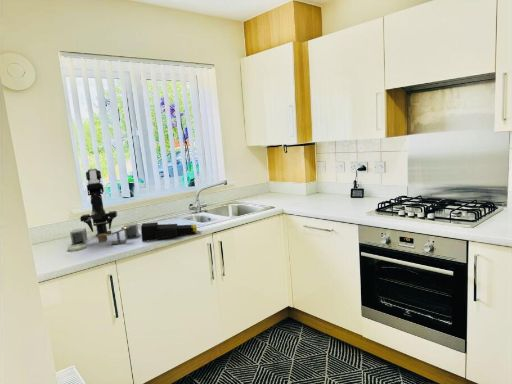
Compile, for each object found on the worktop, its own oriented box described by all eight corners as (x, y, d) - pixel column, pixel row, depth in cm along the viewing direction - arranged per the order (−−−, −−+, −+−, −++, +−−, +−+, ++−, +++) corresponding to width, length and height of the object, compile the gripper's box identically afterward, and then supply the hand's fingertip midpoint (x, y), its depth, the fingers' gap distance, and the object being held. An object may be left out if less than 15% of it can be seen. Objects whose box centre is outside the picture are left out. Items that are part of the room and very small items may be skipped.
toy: (196, 225, 201) (140, 227, 196) (196, 240, 202) (140, 243, 197) (195, 219, 216) (143, 221, 211) (196, 233, 218) (143, 235, 212)
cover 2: (126, 235, 216) (124, 223, 215) (138, 234, 217) (137, 222, 216) (125, 238, 209) (123, 226, 208) (138, 237, 211) (136, 224, 210)
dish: (69, 247, 201) (69, 245, 201) (87, 245, 203) (87, 243, 203) (65, 252, 192) (65, 250, 192) (83, 249, 194) (83, 247, 194)
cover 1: (75, 242, 212) (72, 229, 211) (87, 240, 214) (85, 228, 212) (72, 245, 206) (70, 232, 205) (85, 243, 207) (83, 230, 206)
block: (99, 240, 210) (98, 234, 210) (107, 239, 211) (106, 233, 211) (98, 242, 206) (97, 235, 206) (106, 241, 207) (105, 234, 207)
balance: (107, 243, 202) (105, 229, 201) (131, 240, 205) (129, 225, 204) (106, 246, 198) (103, 231, 196) (131, 242, 201) (129, 227, 199)
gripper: (76, 208, 196) (80, 236, 198) (112, 204, 200) (116, 231, 202) (80, 205, 206) (85, 231, 209) (115, 201, 211) (119, 227, 213)
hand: (101, 230), depth 208 cm, fingers open, 9 cm apart
